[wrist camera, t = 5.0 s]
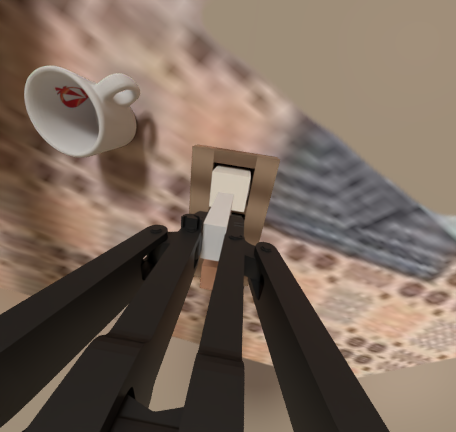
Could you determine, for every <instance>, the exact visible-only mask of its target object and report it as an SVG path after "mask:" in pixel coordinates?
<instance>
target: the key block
mask: <svg viewBox="0 0 456 432" xmlns="http://www.w3.org/2000/svg"><path fill="white" fill-rule="evenodd" d="M216 163H223V164H229V165H235V166H241V167H247V168H254V169H253V174H252V179H251V184H250V189H249V194H248V199H247V200H246V204H245V209H244V212H239V211H233V210H231V212H234V213H239V214H244V219H243V220H244V237H245V240H246V241H247V242H248V243H250V244H252V245H254V246H255V245H256V244H257V243H259V240H260V236H261V233H262V229H263V225H264V221H265V217H266V213H267V209H268V205H269V201H270V198H271V194H272V190H273V186H274V182H275V178H276V174H277V170H278V166H279V163H280V160H279V159H278V158H277V157H273V156H266V155H260V154H254V153H247V152H241V151H235V150H228V149H222V148H216V147H209V146H203V145H195V146H192V166H191V186H190V206H189V214H195V213H196V212H198V211H204V212H209V210H210V208H211V207H209V201H210V191H211V181H212V171H213V170H214V169H215V168H216ZM200 255H201V253H200ZM203 261H204V259H203V258H200V256H199V263H198V266H197V269H196V271H195V274H194V276H195V277H201V270H202V264H203ZM244 285H245V286H248V277H246V276H244Z"/></svg>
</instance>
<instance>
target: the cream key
mask: <svg viewBox="0 0 456 432" xmlns="http://www.w3.org/2000/svg"><path fill="white" fill-rule="evenodd" d="M250 179H251V173H250V170H248V169H242V168H236V167H229V166H223V165H218V166H217V167H216V168H215V169H214V170H213V171H212V181H211V191H210V201H209V207H211V206H212V204H213V202H214V200H215V198H216V196H217V194H218V192H222V193H228V194H234V197H233V203H232V210H233V211H239V212H244V209H245V204H246V199H247V194H248V189H249V184H250Z"/></svg>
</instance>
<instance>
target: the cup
mask: <svg viewBox="0 0 456 432" xmlns="http://www.w3.org/2000/svg"><path fill="white" fill-rule="evenodd" d="M123 90H125V91H123ZM121 91H123V92H121ZM119 92H121V93H119ZM139 96H140V89H139V87H138V85H137V84H136V82H135V81H134V80H133V79H132V78H131V77H129V76H127V75H124V74H119V73H117V74H112V75H109V76H107V77H105V78H104V79H102V80H101V81H100V82H99V83H97V84H96V83H94V82H92V81H90V80H88V79H86V78H84V77H82V76H80V75H78V74H76V73H73V72H71V71H69V70H67V69H64V68H62V67H58V66H43V67H40V68H38V69H36V70H34V71H33V72H32V73H31V74H30V76H29V77H28V79H27V81H26V84H25V90H24V99H25V105H26V109H27V112H28V115H29V117H30V120H31V122H32V123H33V125H34V127H35V128H36V130H37V131H38V133H39V134H40V135H41V136H42V138H43V139H44V140H45V141H46V142H47V143H48V144H50V145H51V146H52V147H53V148H55V149H56V150H58V151H59V152H61V153H63V154H66V155H69V156H72V157H79V158H83V157H89V156H93V155H96V154H99V153H103V152H106V151H110V150H113V149H116V148H120V147H123V146H125V145H127V144H128V143H129V142H131V140H132V139H133V138H134V136H135V133H136V119H135V115H134V113H133V111H132V109H131V107H130V105H131V104H132V103H134V102H135V101H136V100H137V99H138V98H139Z"/></svg>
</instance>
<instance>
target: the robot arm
mask: <svg viewBox="0 0 456 432" xmlns="http://www.w3.org/2000/svg"><path fill="white" fill-rule="evenodd" d="M233 197H234V194H228V193H222V192H218V194H217V196H216V198H215V200H214V202H213V204H212V206H211V208H210V210H209V212H204V211H198V212H196V213H195V214H185V215H183V216H181V229H180V230H179V231H178V232H168V229H167V228H166V227H165V226H162V225H152V226H149V227H147V228H145V229H144V230H142V231H140V232H139V233H137V234H135V235H134V236H132V237H130V238H129V239H127V240H125V241H123V242H122V243H120V244H118V245H117V246H115V247H113V248H112V249H110V250H108V251H107V252H105V253H103V254H102V255H100V256H98V257H97V258H95V259H93V260H92V261H90V262H88V263H86V264H85V265H83V266H81V267H80V268H78V269H76V270H75V271H73V272H71V273H70V274H68V275H66V276H65V277H63V278H61V279H60V280H58V281H56V282H54V283H53V284H51V285H49V286H48V287H46V288H44V289H43V290H41V291H39V292H38V293H36V294H34V295H33V296H31V297H29V298H28V299H26V300H24V301H22V302H21V303H19V304H17V305H16V306H14V307H12V308H11V309H9V310H7V311H6V312H4V313H2V314H1V315H0V427H2V426H3V425H4V424H5V423H7V422H8V421H9V420H10V419H11V418H12V417H13V416H14V415H16V414H17V413H18V412H19V411H20V410H21V409H22V408H23V407H24V406H25V405H26V404H27V403H28V402H29V401H30V400H32V399H33V397H35V396H36V394H38V393H39V392H40V391H41V390H42V389H43V388H44V387H45V386H46V385H47V384H48V383H49V382H50V381H51V380H52V379H53V378H54V377H55V376H56V375H57V374H58V373H59V372H60V371H61V370H62V369H63V368H64V367H65V366H66V365H67V364H68V363H69V362H70V361H71V360H72V359H73V358H74V357H75V356H76V355H77V354H78V353H79V352H80V351H81V350H82V349H83V348H84V347H85V346H86V345H87V344H88V343H89V342H90V341H91V340H92V339H93V338H94V337H95V336H96V335H97V334H98V333H99V332H100V331H102V330H103V329H104V328H105V327H106V326H107V324H108V323H110V322H111V321H112V320H113V319H114V318H115V317H116V316H117V315H118V314H119V313H120V312H121V311H122V310H123V309H124V308H125V307H126V306H127V305H128V304H129V305H128V306H127V307H126V309H125V310H124V312H123V313H122V315H121V316H120V318H119V319H118V321H117V322H116V323H115V325H114V326H113V328H112V329H111V330H110V332H109V333H108V334H106V335H101V336H98V337H97V338H95V339H94V340H93V341H92V342H91V343H90V345H89V346H88V347H87V348H86V349H85V351H84V352H83V353H82V355H81V356H80V357H79V359H78V360H77V361H76V363H75V364H74V366H73V367H72V368H71V370H70V371H69V372H68V374H67V375H66V376H65V378H64V379H63V380H62V382H61V383H60V384H59V386H58V387H57V388H56V390H55V391H54V392H53V394H52V395H51V396H50V398H49V399H48V401H47V402H46V403H45V405H44V406H43V407H42V409H41V410H40V411H39V413H38V414H37V415H36V417H35V418H34V419H33V421H32V422H31V424H30V425H29V426H28V427H27V428H26V429H25V430H24V431H22V432H244V363H243V361H242V325H243V289H244V276H246V277H248V283H249V286H250V290H251V293H252V296H253V300H254V303H255V306H256V309H257V313H258V316H259V319H260V322H261V326H262V329H263V332H264V336H265V339H266V342H267V345H268V349H269V352H270V355H271V359H272V362H273V365H274V368H275V372H276V375H277V378H278V381H279V385H280V388H281V391H282V395H283V398H284V401H285V404H286V408H287V411H288V414H289V417H290V421H291V424H292V427H293V430H294V432H389V430H388V429H387V427H386V425H385V423H384V422H383V420H382V419H381V417H380V415H379V414H378V412H377V411H376V409H375V407H374V406H373V404H372V402H371V401H370V399H369V398H368V396H367V394H366V393H365V391H364V389H363V388H362V386H361V385H360V383H359V381H358V380H357V378H356V376H355V375H354V373H353V372H352V370H351V368H350V367H349V365H348V364H347V362H346V360H345V359H344V357H343V355H342V354H341V352H340V351H339V349H338V347H337V346H336V344H335V342H334V341H333V339H332V338H331V336H330V334H329V333H328V331H327V330H326V328H325V326H324V325H323V323H322V321H321V320H320V318H319V317H318V315H317V313H316V312H315V310H314V308H313V307H312V305H311V304H310V302H309V300H308V299H307V297H306V296H305V294H304V292H303V291H302V289H301V287H300V286H299V284H298V283H297V281H296V279H295V278H294V276H293V275H292V273H291V271H290V270H289V268H288V266H287V265H286V263H285V262H284V260H283V258H282V257H281V255H280V253H279V252H278V250H277V249H276V248H275V246H273V245H272V244H270V243H267V242H259V243H257V244H256V245H255V246H254V245H252V244H250V243H248V242H247V241H246V240H245V237H244V220H243V218H242V217H237V216H231V210H232V203H233ZM200 253H201V255H200ZM145 256H147V257H146V258H145V259H143V258H144V257H145ZM199 256H200V258H203V259H209V260H214V261H219V262H218V266H217V271H216V275H215V280H214V284H213V288H212V293H211V297H210V302H209V306H208V311H207V315H206V319H205V324H204V328H203V333H202V337H201V342H200V346H199V350H198V353H197V355H196V359H195V362H194V367H193V371H192V375H191V379H190V384H189V388H188V392H187V396H186V401H185V405H184V407H181V408H175V409H169V410H164V411H157V412H155V411H151V410H150V409H148V407H149V404H150V400H151V396H152V390H153V386H154V383H155V380H156V377H157V374H158V372H159V369H160V366H161V363H162V361H163V358H164V355H165V352H166V350H167V347H168V344H169V341H170V339H171V336H172V334H173V331H174V328H175V325H176V323H177V320H178V317H179V315H180V312H181V309H182V306H183V304H184V301H185V298H186V296H187V293H188V290H189V287H190V285H191V282H192V279H193V277H194V274H195V271H196V269H197V266H198V263H199Z"/></svg>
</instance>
